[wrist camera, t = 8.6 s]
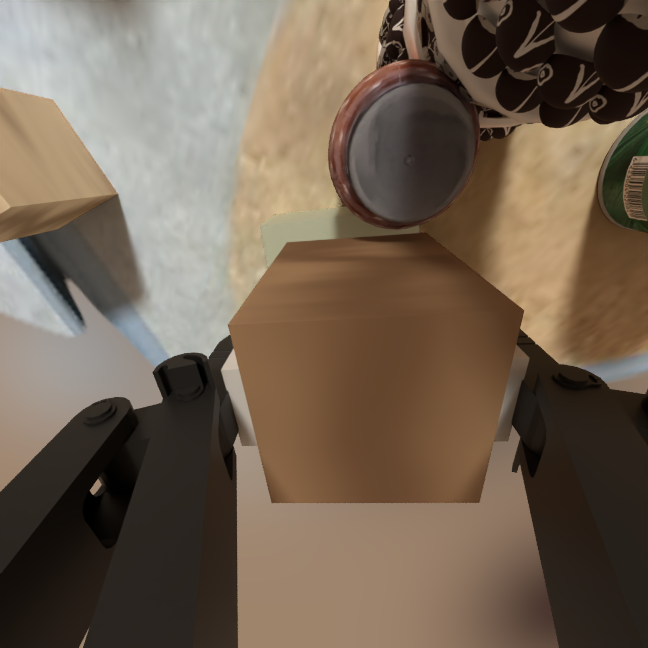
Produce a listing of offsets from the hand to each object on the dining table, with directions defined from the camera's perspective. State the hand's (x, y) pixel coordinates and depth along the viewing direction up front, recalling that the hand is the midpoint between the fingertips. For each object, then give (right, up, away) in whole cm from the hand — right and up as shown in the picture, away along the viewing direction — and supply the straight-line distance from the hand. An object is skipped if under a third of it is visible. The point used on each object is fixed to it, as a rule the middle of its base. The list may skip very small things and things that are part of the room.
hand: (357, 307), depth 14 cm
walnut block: (0, 0, +1) cm, 1 cm away
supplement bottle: (+3, +10, +6) cm, 12 cm away
